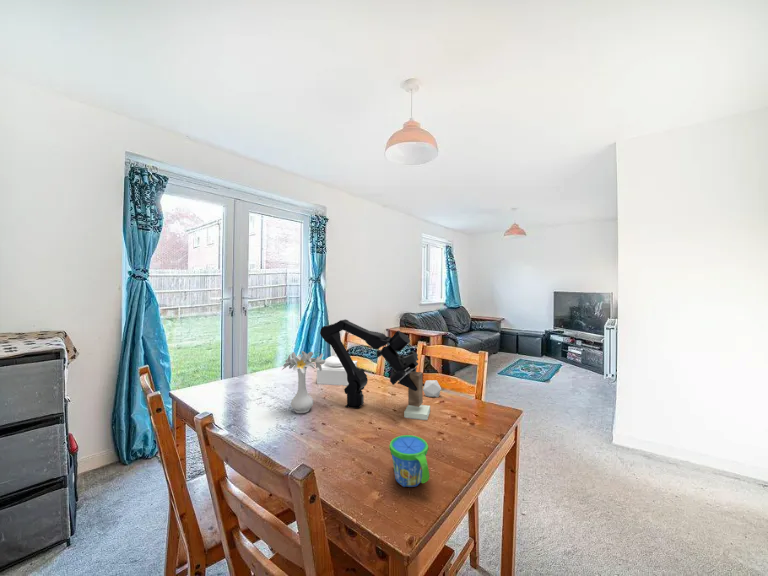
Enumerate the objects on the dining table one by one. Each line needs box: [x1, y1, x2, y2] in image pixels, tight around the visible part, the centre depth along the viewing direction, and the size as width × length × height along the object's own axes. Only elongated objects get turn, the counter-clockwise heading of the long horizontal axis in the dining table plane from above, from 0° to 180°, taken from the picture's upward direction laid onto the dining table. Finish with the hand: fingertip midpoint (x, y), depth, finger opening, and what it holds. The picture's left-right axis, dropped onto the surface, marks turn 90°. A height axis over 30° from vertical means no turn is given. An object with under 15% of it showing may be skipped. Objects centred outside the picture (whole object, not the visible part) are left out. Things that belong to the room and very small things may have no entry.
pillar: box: [407, 371, 424, 407], centre depth 128 cm, size 4×4×12 cm
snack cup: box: [388, 434, 430, 488], centre depth 88 cm, size 16×10×10 cm
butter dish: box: [316, 353, 358, 387], centre depth 176 cm, size 18×18×16 cm
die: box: [423, 379, 442, 398], centre depth 149 cm, size 8×9×10 cm
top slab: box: [403, 404, 431, 421], centre depth 128 cm, size 9×9×2 cm
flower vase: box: [281, 350, 326, 414], centre depth 135 cm, size 13×18×25 cm
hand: (418, 388), depth 127 cm, fingers closed on pillar, 4 cm apart
